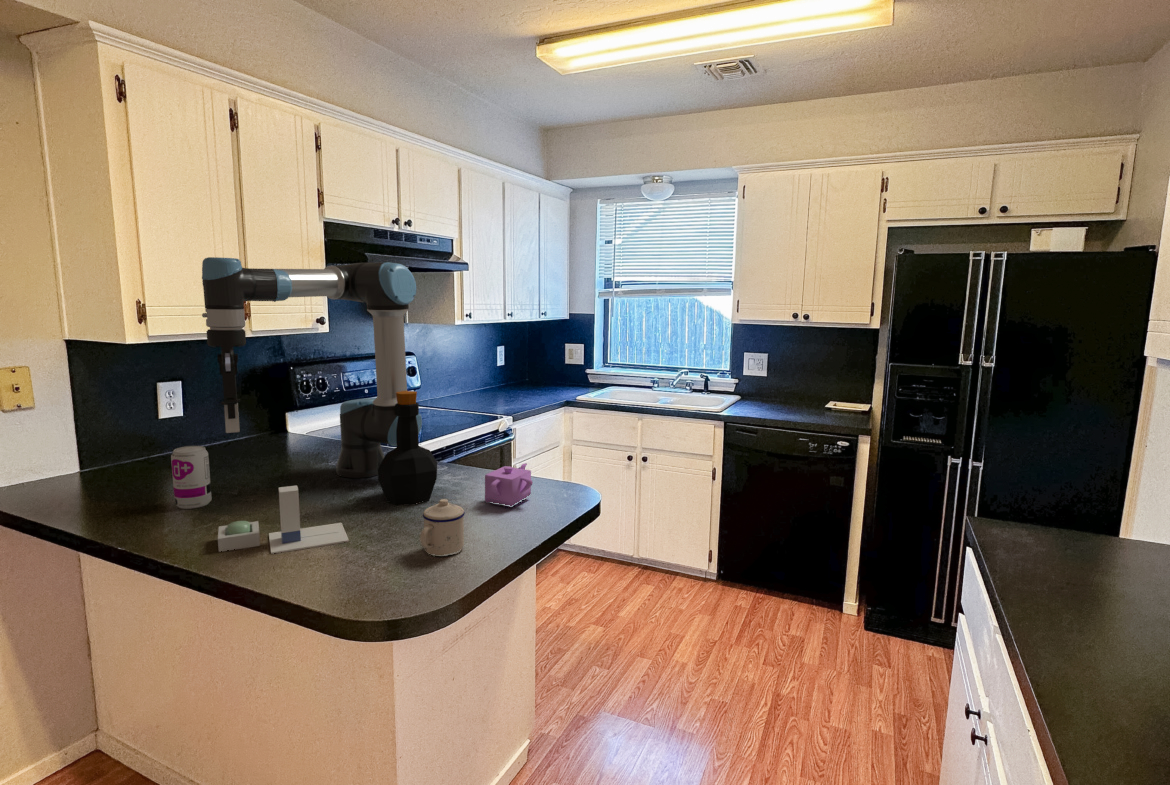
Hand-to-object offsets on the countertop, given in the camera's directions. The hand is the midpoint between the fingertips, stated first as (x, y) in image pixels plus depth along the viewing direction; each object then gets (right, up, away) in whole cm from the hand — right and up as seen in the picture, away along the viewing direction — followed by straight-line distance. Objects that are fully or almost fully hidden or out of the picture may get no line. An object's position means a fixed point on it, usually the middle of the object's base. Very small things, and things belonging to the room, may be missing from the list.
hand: (232, 431), depth 143 cm
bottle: (+31, -21, +31) cm, 49 cm away
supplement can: (-23, -21, +22) cm, 38 cm away
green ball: (+2, -25, -1) cm, 25 cm away
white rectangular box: (+13, -25, 0) cm, 28 cm away
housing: (+2, -25, -1) cm, 25 cm away
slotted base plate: (+16, -25, +2) cm, 30 cm away
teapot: (+60, -22, +30) cm, 71 cm away
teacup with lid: (+48, -27, -3) cm, 55 cm away
